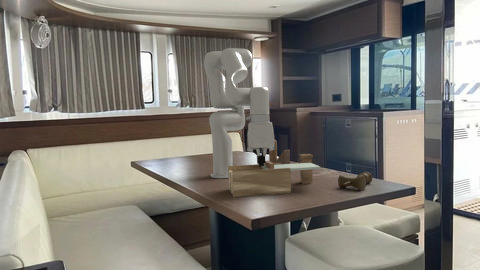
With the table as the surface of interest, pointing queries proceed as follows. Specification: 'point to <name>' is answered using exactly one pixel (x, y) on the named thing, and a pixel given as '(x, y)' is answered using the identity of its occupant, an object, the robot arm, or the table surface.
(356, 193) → the table surface
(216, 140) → the robot arm
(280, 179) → the wooden box
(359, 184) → the kendama
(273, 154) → the wooden block
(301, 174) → the wooden square column
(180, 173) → the table surface
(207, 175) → the table surface
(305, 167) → the lid
